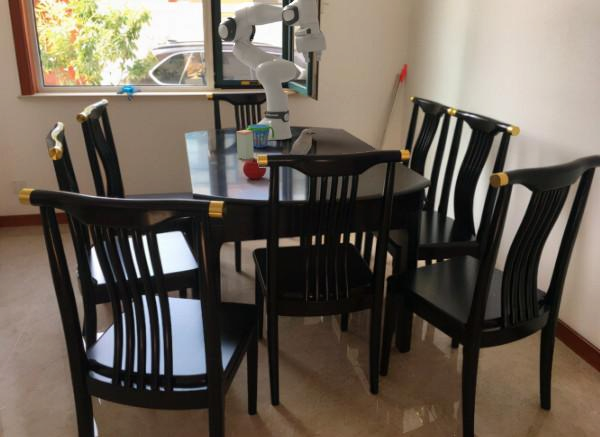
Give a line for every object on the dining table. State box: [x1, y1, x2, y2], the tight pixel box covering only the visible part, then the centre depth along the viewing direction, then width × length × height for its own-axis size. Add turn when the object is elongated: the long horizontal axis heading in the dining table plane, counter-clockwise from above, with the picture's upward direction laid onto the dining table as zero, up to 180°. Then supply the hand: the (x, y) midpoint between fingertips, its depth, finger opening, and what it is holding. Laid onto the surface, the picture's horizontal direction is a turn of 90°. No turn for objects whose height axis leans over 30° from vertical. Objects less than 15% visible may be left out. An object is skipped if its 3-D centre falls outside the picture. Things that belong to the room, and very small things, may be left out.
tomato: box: [242, 157, 267, 180], centre depth 193 cm, size 9×9×8 cm
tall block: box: [236, 129, 255, 160], centre depth 225 cm, size 5×5×12 cm
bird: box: [288, 128, 316, 155], centre depth 212 cm, size 5×14×15 cm, turn 63°
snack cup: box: [245, 123, 274, 149], centre depth 248 cm, size 16×10×10 cm
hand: (313, 61), depth 242 cm, fingers open, 8 cm apart
